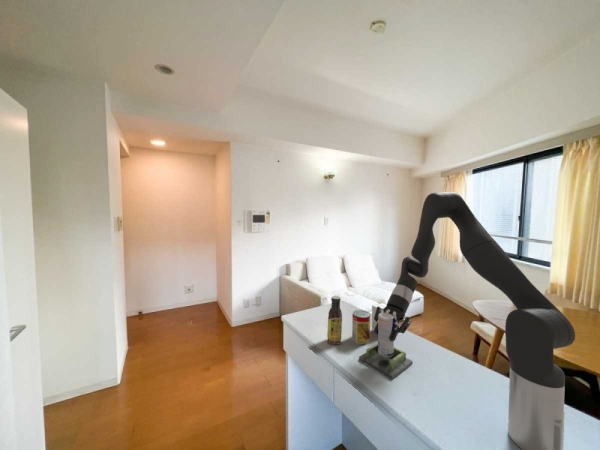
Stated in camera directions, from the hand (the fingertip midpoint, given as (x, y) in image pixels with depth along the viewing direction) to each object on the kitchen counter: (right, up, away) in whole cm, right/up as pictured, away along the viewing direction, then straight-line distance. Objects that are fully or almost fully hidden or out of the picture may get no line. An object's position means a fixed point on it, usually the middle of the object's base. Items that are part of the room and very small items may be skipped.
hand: (383, 336), depth 86 cm
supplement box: (+9, -10, +25) cm, 28 cm away
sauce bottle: (-16, -10, +16) cm, 25 cm away
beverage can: (+1, -7, +1) cm, 8 cm away
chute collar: (+1, -10, +1) cm, 10 cm away
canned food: (-4, -10, +18) cm, 21 cm away
